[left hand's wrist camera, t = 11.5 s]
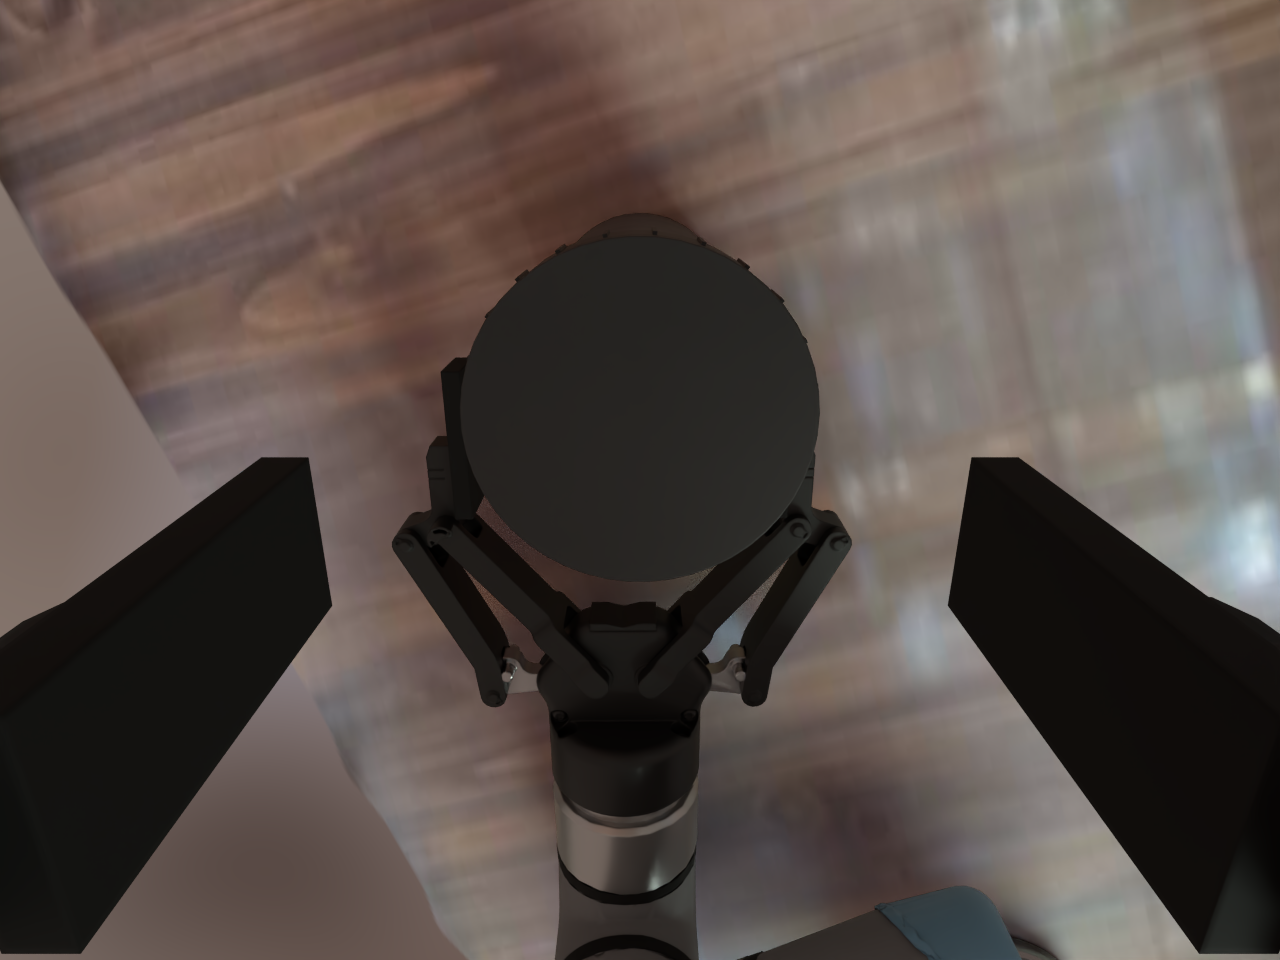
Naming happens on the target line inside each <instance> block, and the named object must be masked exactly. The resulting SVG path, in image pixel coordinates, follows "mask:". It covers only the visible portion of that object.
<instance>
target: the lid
mask: <svg viewBox="0 0 1280 960" xmlns="http://www.w3.org/2000/svg"><path fill="white" fill-rule="evenodd" d="M555 252H556V253H555V254H553V255H551V256H550V257H548V258H546V259H545V260H544V261H542V262H541V263H540V264H539V265H537V266H536V267H535V268H534V269H532V270H531V271H530V272H529V271H528V270H526V271H524V272H523V273H522V274H521V275H519V276H518V277H517V278H516V279H515V281H516V282H517V283H516V284H515V285H514V286H513V287H512V288H511V289H510V290H509V291H508V292H507V293H506V294H505V295H504V296H503V297H502V298H501V299H500V300H499V302H498V303H497V304H496V306H495V307H494V308H493V309H492V310H490V311H489V312H488V313H487V314H486V316H485V318H486V320H485V322H484V324H483V325H482V327H481V329H480V331H479V333H478V335H477V337H476V339H475V341H474V343H473V346H472V349H471V352H470V355H469V356H468V357H467V363H466V367H465V372H464V377H463V382H462V388H461V403H460V414H461V428H462V435H463V440H464V445H465V450H466V454H467V457H468V460H469V463H470V465H471V468H472V471H473V474H474V476H475V478H476V480H477V482H478V484H479V486H480V488H481V490H482V492H483V494H484V495H485V497H486V498H487V500H488V501H489V503H490V504H491V506H492V507H493V509H494V510H495V512H496V513H497V514H498V515H499V516H500V517H501V519H502V520H503V521H504V522H505V523H506V524H507V525H508V526H509V528H510V529H511V530H512V531H514V532H515V533H516V534H517V535H518V536H519V537H520V538H522V539H523V540H524V541H525V542H526V543H527V544H529V545H530V546H532V547H533V548H535V549H536V550H537V551H539V552H540V553H542V554H543V555H545V556H547V557H549V558H550V559H552V560H554V561H556V562H558V563H560V564H562V565H564V566H566V567H569V568H572V569H574V570H577V571H580V572H582V573H585V574H589V575H593V576H597V577H601V578H605V579H612V580H620V581H638V582H650V581H659V580H669V579H674V578H678V577H683V576H687V575H692V574H694V573H697V572H700V571H703V570H706V569H709V568H711V567H714V566H716V565H718V564H720V563H722V562H724V561H726V560H728V559H730V558H732V557H733V556H735V555H736V554H738V553H739V552H741V551H742V550H744V549H746V548H747V547H749V546H750V545H751V544H752V543H754V542H755V541H756V540H757V539H758V538H760V537H761V536H762V535H763V534H764V533H765V532H767V530H768V529H769V528H770V527H771V526H772V525H773V524H774V523H775V522H776V521H777V520H778V519H779V518H780V516H781V515H782V514H783V512H784V511H785V510H786V508H787V507H788V506H789V504H790V503H791V501H792V500H793V499H794V497H795V495H796V493H797V491H798V489H799V488H800V486H801V484H802V482H803V480H804V478H805V476H806V473H807V470H808V468H809V465H810V463H811V460H812V457H813V453H814V449H815V444H816V440H817V436H818V426H819V415H820V409H819V389H818V383H817V378H816V372H815V367H814V364H813V361H812V358H811V355H810V352H809V349H808V346H807V344H806V343H808V342H807V340H806V338H805V337H804V336H803V335H802V333H801V331H800V329H799V327H798V325H797V324H796V322H795V321H794V319H793V318H792V316H791V315H790V313H789V312H788V310H787V309H786V307H785V306H784V304H783V302H784V300H783V299H782V298H781V297H780V296H779V295H778V294H777V293H775V292H774V291H773V290H772V289H771V290H770V289H769V288H768V286H766V285H765V284H764V283H763V282H762V281H760V280H759V279H758V278H757V277H756V276H755V275H753V274H752V273H751V272H750V271H749V270H748V269H749V268H750V266H748V265H747V264H746V263H745V262H743V261H742V260H741V259H739V258H738V260H737V261H736V260H735V259H733V258H731V257H730V256H728V255H727V254H725V253H724V252H722V251H720V250H719V249H716V248H714V247H712V246H710V245H708V244H706V242H705V241H704V240H703V239H702V238H700V237H697V240H696V239H692V238H689V237H686V236H682V235H679V234H675V233H668V232H661V231H657V228H656V227H652V230H627V231H619V232H611V233H610V230H609V229H608V230H605V231H604V233H603V234H602V235H598V236H594V237H591V238H587V239H584V240H582V241H579V242H577V243H575V244H572V245H570V246H567V247H566V245H565V244H564V245H562V246H560V247H559V248H558V249H557V250H556V251H555Z"/></svg>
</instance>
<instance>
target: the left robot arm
mask: <svg viewBox="0 0 1280 960" xmlns="http://www.w3.org/2000/svg"><path fill="white" fill-rule="evenodd" d="M331 606H332V601H331V595H330V589H329V583H328V577H327V570H326V564H325V558H324V552H323V545H322V539H321V533H320V527H319V520H318V514H317V508H316V502H315V495H314V489H313V483H312V477H311V470H310V464H309V458H308V457H261V458H260V459H259V460H257V461H256V462H255V463H253V464H252V465H251V466H249V467H248V468H246V469H245V470H244V471H242V472H241V473H240V474H238V475H237V476H236V477H234V478H233V479H231V480H230V481H229V482H227V483H226V484H225V485H223V486H222V487H221V488H219V489H218V490H216V491H215V492H214V493H212V494H211V495H210V496H208V497H207V498H206V499H204V500H203V501H202V502H200V503H199V504H197V505H196V506H195V507H193V508H192V509H191V510H189V511H188V512H187V513H185V514H184V515H183V516H181V517H180V518H178V519H177V520H176V521H174V522H173V523H172V524H170V525H169V526H168V527H166V528H165V529H163V530H162V531H161V532H159V533H158V534H157V535H155V536H154V537H153V538H151V539H150V540H149V541H147V542H146V543H144V544H143V545H142V546H140V547H139V548H138V549H136V550H135V551H134V552H132V553H131V554H129V555H128V556H127V557H125V558H124V559H123V560H121V561H120V562H119V563H117V564H116V565H115V566H113V567H112V568H110V569H109V570H108V571H106V572H105V573H104V574H102V575H101V576H99V577H98V578H97V579H95V580H94V581H93V582H91V583H90V584H89V585H87V586H86V587H85V588H83V589H82V590H80V591H79V592H78V593H76V594H75V595H74V596H72V597H71V598H70V599H68V600H67V601H66V602H64V603H62V604H59V605H57V606H55V607H53V608H51V609H49V610H47V611H44V612H42V613H40V614H38V615H36V616H34V617H31V618H29V619H27V620H25V621H23V622H21V623H20V624H19V625H17V626H16V627H14V628H13V629H12V630H10V631H9V632H7V633H6V634H5V635H3V636H2V637H0V951H1V953H2V954H81V953H82V951H83V950H84V949H85V947H86V946H87V944H88V943H89V942H90V940H91V939H92V937H93V936H94V935H95V933H96V932H97V931H98V929H99V928H100V926H101V925H102V924H103V922H104V921H105V919H106V918H107V917H108V915H109V914H110V913H111V911H112V910H113V908H114V907H115V906H116V904H117V903H118V901H119V900H120V899H121V897H122V896H123V894H124V893H125V892H126V890H127V889H128V888H129V886H130V885H131V883H132V882H133V881H134V879H135V878H136V877H137V875H138V874H139V872H140V871H141V870H142V868H143V867H144V865H145V864H146V863H147V861H148V860H149V859H150V857H151V856H152V854H153V853H154V852H155V850H156V849H157V847H158V846H159V845H160V843H161V842H162V840H163V839H164V838H165V836H166V835H167V833H168V832H169V831H170V829H171V828H172V827H173V825H174V824H175V823H176V821H177V820H178V818H179V817H180V816H181V814H182V813H183V811H184V810H185V809H186V807H187V806H188V805H189V803H190V802H191V800H192V799H193V798H194V796H195V795H196V793H197V792H198V791H199V789H200V788H201V787H202V785H203V784H204V782H205V781H206V780H207V778H208V777H209V775H210V774H211V773H212V771H213V770H214V768H215V767H216V766H217V764H218V763H219V762H220V760H221V759H222V757H223V756H224V755H225V753H226V752H227V751H228V749H229V748H230V746H231V745H232V744H233V742H234V741H235V739H236V738H237V737H238V735H239V734H240V732H241V731H242V730H243V728H244V727H245V726H246V724H247V723H248V721H249V720H250V719H251V717H252V716H253V715H254V713H255V712H256V710H257V709H258V708H259V706H260V705H261V703H262V702H263V701H264V699H265V698H266V696H267V695H268V694H269V692H270V691H271V690H272V688H273V687H274V685H275V684H276V683H277V681H278V680H279V678H280V677H281V676H282V674H283V673H284V672H285V670H286V669H287V667H288V666H289V665H290V663H291V662H292V660H293V659H294V658H295V656H296V655H297V654H298V652H299V651H300V649H301V648H302V647H303V645H304V644H305V642H306V641H307V640H308V638H309V637H310V636H311V634H312V633H313V631H314V630H315V629H316V627H317V626H318V624H319V623H320V622H321V620H322V619H323V618H324V616H325V615H326V613H327V612H328V611H329V609H330V608H331ZM948 606H949V608H950V609H951V611H952V612H953V613H954V615H955V616H956V618H957V619H958V620H959V622H960V623H961V624H962V626H963V627H964V629H965V630H966V631H967V633H968V634H969V636H970V637H971V638H972V640H973V641H974V642H975V644H976V645H977V647H978V648H979V649H980V651H981V652H982V654H983V655H984V656H985V658H986V659H987V661H988V662H989V663H990V665H991V666H992V667H993V669H994V670H995V672H996V673H997V674H998V676H999V677H1000V679H1001V680H1002V681H1003V683H1004V684H1005V685H1006V687H1007V688H1008V690H1009V691H1010V692H1011V694H1012V695H1013V697H1014V698H1015V699H1016V701H1017V702H1018V703H1019V705H1020V706H1021V708H1022V709H1023V710H1024V712H1025V713H1026V715H1027V716H1028V717H1029V719H1030V720H1031V721H1032V723H1033V724H1034V726H1035V727H1036V728H1037V730H1038V731H1039V733H1040V734H1041V735H1042V737H1043V738H1044V739H1045V741H1046V742H1047V744H1048V745H1049V746H1050V748H1051V749H1052V751H1053V752H1054V753H1055V755H1056V756H1057V757H1058V759H1059V760H1060V762H1061V763H1062V764H1063V766H1064V767H1065V769H1066V770H1067V771H1068V773H1069V774H1070V775H1071V777H1072V778H1073V780H1074V781H1075V782H1076V784H1077V785H1078V787H1079V788H1080V789H1081V791H1082V792H1083V793H1084V795H1085V796H1086V798H1087V799H1088V800H1089V802H1090V803H1091V805H1092V806H1093V807H1094V809H1095V810H1096V811H1097V813H1098V814H1099V816H1100V817H1101V818H1102V820H1103V821H1104V823H1105V824H1106V825H1107V827H1108V828H1109V829H1110V831H1111V832H1112V834H1113V835H1114V836H1115V838H1116V839H1117V841H1118V842H1119V843H1120V845H1121V846H1122V847H1123V849H1124V850H1125V852H1126V853H1127V854H1128V856H1129V857H1130V859H1131V860H1132V861H1133V863H1134V864H1135V865H1136V867H1137V868H1138V870H1139V871H1140V872H1141V874H1142V875H1143V877H1144V878H1145V879H1146V881H1147V882H1148V883H1149V885H1150V886H1151V888H1152V889H1153V890H1154V892H1155V893H1156V895H1157V896H1158V897H1159V899H1160V900H1161V901H1162V903H1163V904H1164V906H1165V907H1166V908H1167V910H1168V911H1169V913H1170V914H1171V915H1172V917H1173V918H1174V919H1175V921H1176V922H1177V924H1178V925H1179V926H1180V928H1181V929H1182V931H1183V932H1184V933H1185V935H1186V936H1187V937H1188V939H1189V940H1190V942H1191V943H1192V944H1193V946H1194V947H1195V949H1196V950H1197V951H1198V953H1199V954H1278V953H1279V951H1280V634H1279V633H1278V632H1276V631H1275V630H1274V629H1272V628H1271V627H1269V626H1268V625H1267V624H1265V623H1264V622H1262V621H1261V620H1260V619H1258V618H1256V617H1254V616H1252V615H1249V614H1247V613H1245V612H1243V611H1241V610H1239V609H1236V608H1234V607H1232V606H1230V605H1228V604H1226V603H1223V602H1221V601H1219V600H1217V599H1215V598H1213V597H1208V596H1206V595H1205V594H1204V593H1202V592H1201V591H1200V590H1198V589H1197V588H1195V587H1194V586H1193V585H1191V584H1190V583H1189V582H1187V581H1186V580H1185V579H1183V578H1182V577H1181V576H1179V575H1178V574H1176V573H1175V572H1174V571H1172V570H1171V569H1170V568H1168V567H1167V566H1166V565H1164V564H1163V563H1161V562H1160V561H1159V560H1157V559H1156V558H1155V557H1153V556H1152V555H1151V554H1149V553H1148V552H1146V551H1145V550H1144V549H1142V548H1141V547H1140V546H1138V545H1137V544H1136V543H1134V542H1133V541H1132V540H1130V539H1129V538H1127V537H1126V536H1125V535H1123V534H1122V533H1121V532H1119V531H1118V530H1117V529H1115V528H1114V527H1112V526H1111V525H1110V524H1108V523H1107V522H1106V521H1104V520H1103V519H1102V518H1100V517H1099V516H1098V515H1096V514H1095V513H1093V512H1092V511H1091V510H1089V509H1088V508H1087V507H1085V506H1084V505H1083V504H1081V503H1080V502H1078V501H1077V500H1076V499H1074V498H1073V497H1072V496H1070V495H1069V494H1068V493H1066V492H1065V491H1063V490H1062V489H1061V488H1059V487H1058V486H1057V485H1055V484H1054V483H1053V482H1051V481H1050V480H1049V479H1047V478H1046V477H1044V476H1043V475H1042V474H1040V473H1039V472H1038V471H1036V470H1035V469H1034V468H1032V467H1031V466H1029V465H1028V464H1027V463H1025V462H1024V461H1023V460H1021V459H1020V458H1019V457H972V458H971V464H970V470H969V477H968V483H967V489H966V495H965V502H964V508H963V514H962V520H961V527H960V533H959V539H958V545H957V552H956V558H955V564H954V570H953V576H952V583H951V589H950V595H949V601H948Z"/></svg>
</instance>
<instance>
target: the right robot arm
mask: <svg viewBox="0 0 1280 960" xmlns="http://www.w3.org/2000/svg"><path fill="white" fill-rule="evenodd" d="M466 363H467V358H455V359H453V360H452V361H451V362H450V363H449V364H448V365H447V366H446V367H445V368H444V369H443V370H442V371H441V380H442V390H443V400H444V410H445V421H446V431H447V436H437V437H436V439H435V440H434V441H433V443H432V444H431V445H430V447H429V450H428V453H427V456H426V460H427V469H428V478H429V488H430V497H431V506H432V509H431V510H429V511H426V512H415V513H412V514H411V515H410V516H409V517H408V518H407V520H406V521H405V523H404V524H403V526H402V527H401V528H400V530H399V531H398V533H397V534H396V536H395V537H394V539H393V541H392V548H393V550H394V552H395V553H396V555H397V556H398V558H399V559H400V561H401V562H402V564H403V565H404V567H405V568H406V569H407V571H408V572H409V574H410V575H411V577H412V578H413V580H414V581H415V583H416V584H417V585H418V587H419V588H420V590H421V591H422V593H423V594H424V596H425V597H426V599H427V600H428V602H429V603H430V604H431V606H432V607H433V609H434V610H435V612H436V613H437V615H438V616H439V618H440V619H441V621H442V622H443V623H444V625H445V626H446V628H447V629H448V631H449V632H450V634H451V635H452V637H453V638H454V639H455V641H456V642H457V644H458V645H459V647H460V648H461V650H462V651H463V653H464V654H465V656H466V657H467V658H468V660H469V661H470V663H471V664H472V666H473V667H474V669H475V673H476V677H477V682H478V686H479V690H480V695H481V699H482V701H483V702H484V703H485V704H486V705H488V706H490V707H499V706H501V705H502V704H504V702H505V701H506V698H507V694H513V693H523V692H533V691H539V692H540V694H541V695H542V696H543V698H544V699H545V701H546V703H547V705H548V709H549V721H550V739H551V756H552V771H553V776H554V783H553V794H554V807H555V821H556V834H557V851H558V859H559V898H560V909H559V927H558V937H557V946H556V955H555V960H699V956H698V943H697V930H696V907H695V854H696V842H697V829H698V776H697V774H698V769H699V741H700V708H701V704H702V701H703V699H704V698H705V696H706V695H707V694H708V692H709V691H719V692H730V693H741V696H742V700H743V701H744V703H745V704H747V705H748V706H752V707H754V706H759V705H761V704H763V703H764V702H765V700H766V698H767V694H768V689H769V684H770V679H771V674H772V669H773V667H774V665H775V664H776V662H777V661H778V659H779V657H780V656H781V654H782V653H783V651H784V650H785V648H786V647H787V645H788V644H789V642H790V641H791V639H792V637H793V636H794V634H795V633H796V631H797V630H798V628H799V627H800V625H801V624H802V622H803V621H804V619H805V617H806V616H807V614H808V613H809V611H810V610H811V608H812V607H813V605H814V604H815V602H816V601H817V599H818V598H819V596H820V594H821V593H822V591H823V590H824V588H825V587H826V585H827V584H828V582H829V581H830V579H831V578H832V576H833V574H834V573H835V571H836V570H837V568H838V567H839V565H840V564H841V562H842V561H843V559H844V558H845V556H846V555H847V553H848V551H849V550H850V548H851V545H852V540H851V538H850V536H849V535H848V533H847V531H846V529H845V527H844V526H843V524H842V522H841V521H840V519H839V517H838V516H837V514H836V513H834V512H833V511H830V510H824V511H821V510H818V509H815V508H813V507H811V505H812V492H813V479H814V478H813V476H814V466H815V453H813V457H812V460H811V463H810V465H809V468H808V470H807V473H806V476H805V478H804V480H803V482H802V484H801V486H800V488H799V489H798V491H797V493H796V495H795V497H794V499H793V500H792V501H791V503H790V504H789V506H788V507H787V508H786V510H785V511H784V512H783V514H782V515H781V516H780V518H779V519H778V520H777V521H776V522H775V523H774V524H773V525H772V526H771V527H770V528H769V529H768V530H767V532H765V533H764V534H763V535H762V536H761V537H760V538H758V539H757V540H756V541H755V542H754V543H752V544H751V545H750V546H749V547H747V548H746V549H744V550H742V551H741V552H739V553H738V554H736V555H735V556H733V557H732V558H730V559H728V560H726V561H724V562H722V563H720V564H718V565H717V566H716V567H715V568H714V569H713V570H712V571H711V572H710V573H709V574H708V575H707V576H706V577H705V578H704V579H703V580H702V581H701V582H700V583H699V584H698V585H697V586H696V587H695V588H694V589H693V590H692V591H687V592H685V593H684V594H683V595H682V596H681V597H680V598H679V599H678V600H677V601H676V602H675V603H674V604H673V605H672V606H671V607H670V608H669V609H668V611H667V610H665V609H663V608H660V607H657V606H656V602H638V603H633V604H629V605H625V606H623V605H618V604H614V603H609V602H592V606H591V607H588V608H586V609H584V610H582V611H581V610H580V609H579V608H578V607H577V606H576V605H575V604H574V603H573V602H572V601H571V600H570V599H569V598H568V597H567V596H566V595H565V594H563V593H562V592H560V591H558V592H557V591H555V590H554V589H552V588H551V587H550V586H549V585H548V584H547V583H546V582H545V581H544V580H543V579H542V578H541V577H540V576H539V575H538V574H537V573H536V572H535V571H534V570H533V569H532V568H531V567H530V566H529V565H528V564H527V563H526V562H525V561H524V560H523V559H522V558H521V557H520V556H519V555H518V554H517V553H516V552H515V551H514V550H513V549H512V548H511V547H510V546H509V545H508V544H507V543H506V542H505V541H504V540H503V539H502V538H501V537H500V536H499V535H498V534H497V533H496V532H495V531H494V530H493V529H492V528H491V527H490V526H489V525H488V524H487V523H486V522H485V521H484V520H483V519H482V518H481V517H479V516H478V515H477V514H476V511H477V509H478V507H479V505H480V503H481V501H482V499H483V497H484V494H483V492H482V490H481V488H480V486H479V484H478V482H477V480H476V478H475V476H474V474H473V471H472V468H471V465H470V463H469V460H468V457H467V454H466V450H465V445H464V440H463V435H462V428H461V414H460V403H461V388H462V382H463V377H464V372H465V367H466ZM789 557H790V558H789ZM788 558H789V559H788ZM787 559H788V561H787V562H786V564H785V566H784V567H783V569H782V570H781V572H780V574H779V575H778V577H777V578H776V580H775V582H774V583H773V585H772V586H771V588H770V590H769V591H768V593H767V594H766V596H765V598H764V599H763V601H762V602H761V604H760V606H759V607H758V609H757V611H756V612H755V614H754V615H753V617H752V619H751V620H750V622H749V623H748V625H747V627H746V629H745V631H744V634H743V636H742V639H741V643H740V645H738V644H733V645H731V647H730V649H729V650H728V651H727V652H726V654H725V656H724V658H723V659H722V660H721V661H719V662H716V663H709V660H708V658H707V657H706V655H705V654H704V653H703V652H702V650H703V649H704V648H705V647H706V646H707V645H708V644H709V643H710V641H711V640H712V637H713V635H714V632H715V631H716V630H717V629H718V628H719V627H720V626H721V625H722V624H723V623H724V622H725V621H726V620H727V619H728V618H729V617H730V616H731V615H732V614H733V613H734V612H735V611H736V610H737V609H738V608H739V607H740V606H741V605H742V604H743V603H744V602H745V601H746V600H747V599H748V598H749V597H750V596H751V595H752V594H753V593H754V592H755V591H756V590H757V589H758V588H759V587H760V586H761V585H762V584H763V583H764V582H765V581H766V580H767V579H768V578H769V577H770V576H771V575H772V574H773V573H774V572H775V571H776V570H777V569H778V568H779V567H780V566H781V565H782V564H783V563H784V562H785V561H786V560H787ZM463 567H464V568H465V569H466V570H467V571H468V572H469V573H470V574H471V575H472V576H473V577H474V578H475V579H476V580H477V581H478V582H479V583H480V584H481V585H482V586H483V587H484V588H486V589H487V590H488V591H489V592H490V593H491V594H492V595H493V596H494V597H495V598H496V599H497V600H498V601H499V602H500V603H501V604H502V605H503V606H504V607H505V608H506V609H508V610H509V611H510V612H511V613H512V614H513V615H514V616H515V617H516V618H517V619H518V620H519V621H520V622H521V623H522V624H523V625H524V626H525V627H526V628H527V629H528V630H529V631H530V632H531V633H532V636H533V639H534V641H535V643H536V644H537V645H538V646H539V647H540V648H541V649H542V650H543V651H544V652H545V655H544V656H543V657H542V659H541V661H540V663H531V662H529V661H528V660H526V659H525V657H524V655H523V653H522V652H521V651H520V648H519V647H518V646H517V645H510V646H509V643H508V639H507V637H506V634H505V632H504V630H503V628H502V627H501V625H500V623H499V622H498V620H497V619H496V617H495V616H494V614H493V612H492V611H491V609H490V608H489V606H488V605H487V603H486V602H485V600H484V599H483V597H482V596H481V594H480V593H479V591H478V590H477V588H476V587H475V585H474V583H473V582H472V580H471V579H470V577H469V576H468V574H467V573H466V571H465V570H464V568H463ZM737 960H1056V959H1055V958H1054V957H1053V956H1052V955H1050V954H1049V953H1048V952H1046V951H1045V950H1043V949H1041V948H1039V947H1037V946H1035V945H1033V944H1031V943H1028V942H1025V941H1022V940H1019V939H1015V938H1011V936H1010V934H1009V932H1008V930H1007V928H1006V926H1005V924H1004V922H1003V920H1002V918H1001V916H1000V914H999V912H998V910H997V908H996V906H995V905H994V904H993V902H992V901H991V900H990V899H989V898H988V897H987V896H986V895H985V894H983V893H982V892H980V891H979V890H977V889H975V888H972V887H968V886H954V887H950V888H946V889H942V890H938V891H934V892H930V893H926V894H923V895H919V896H915V897H911V898H907V899H903V900H899V901H895V902H891V903H887V904H886V903H880V904H879V905H877V906H875V910H874V911H871V912H869V913H866V914H863V915H861V916H858V917H856V918H853V919H850V920H848V921H845V922H842V923H840V924H837V925H834V926H832V927H829V928H826V929H824V930H821V931H818V932H816V933H813V934H811V935H808V936H805V937H803V938H800V939H797V940H795V941H792V942H789V943H787V944H784V945H781V946H779V947H776V948H773V949H771V950H768V951H766V952H763V951H761V952H759V953H756V954H753V955H750V956H746V957H743V958H740V959H737Z"/></svg>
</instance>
